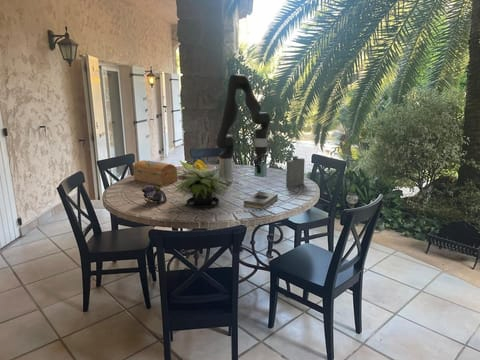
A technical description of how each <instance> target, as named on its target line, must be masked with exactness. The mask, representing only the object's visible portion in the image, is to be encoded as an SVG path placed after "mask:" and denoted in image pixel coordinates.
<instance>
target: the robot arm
mask: <svg viewBox="0 0 480 360" xmlns="http://www.w3.org/2000/svg"><path fill="white" fill-rule="evenodd" d="M228 79H229V80H228V85H227V94H226V100H225V105H224V109H223V113H222V119H221V123H220V127H219V131H218V134H217V138H216V146H217V148H218V149H220V150H222V149H223V150H222V151H221V152H220V153H219V157H218V158H219V160H218V161H219V168H218V169H220V168H224V169H220V170H218V176H219V177H221V178H224V179H222V180H224V182H225V181H226V182H228V183H227V184H230V183H233V182H234V174H233V173H234V170H233V169H234V167H233V165H234V164H233V162H234V160H233V156H234V148H235V147H234V145H235V144H234V143H235V142H234V141H235V140H234V138H233V137H234V136H232V135H231V134H228V132H229V130H230V129H231V127H233V125H234V123H235V122H236V120H237V118H238V113H239V106H238V102H237V100H236V92H237V90H242V91H243V92H244V95H245V99H244V101H245V102H244V103H245V105H246V107H247V109H248V110H249V112H250V115H251V118H252V119H251V120H252V122H253V123H254V124H255V125H260V126H259V127H257V128H256V129H255V131H254V132H255V134H254V136H255V140H254V153H255V154H256V157H254V158H253V160H254V161H253V162H254V168H255V167H257V173H259V174H260V173H261V168H260V167H261V164H262V163H267V161H268V160H267V159H268V154H267V153H268V129H269V125H270V123H271V122H270V121H271V117H270V114H269V113H268V111H267V112H266V111H261V109H262V106H261V104H260V102H259V100H258V99H257V97H256V96H255V93H254V91H253V89H252V87H251V85H250V81H249V79H248V78H247V76H246V75H245V74H240V73H239V74H238V73H233V74H231V75H230V77H229V78H228ZM256 164H257V165H256ZM259 164H260V165H259ZM225 179H226V180H225ZM222 182H223V181H222ZM222 182H221V181H220V182H219V183H222Z"/></svg>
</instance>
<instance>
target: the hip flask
mask: <svg viewBox="0 0 480 360" xmlns="http://www.w3.org/2000/svg"><path fill="white" fill-rule="evenodd" d="M305 162H306V161H305V158H299V156H298V155H292V159H291V160H290V159H289V160H287V161H286V173H285V174H286V176H285V177H286V179H285V181H286V184H285V185H286V186H285V187H286V188H288V189H289V188H292V187H297V186H300V184H301V185H304V183H305ZM296 185H297V186H296Z"/></svg>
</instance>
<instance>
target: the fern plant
mask: <svg viewBox="0 0 480 360" xmlns="http://www.w3.org/2000/svg"><path fill="white" fill-rule="evenodd" d="M183 165H184V164H183ZM183 165H182V166H183ZM184 166H187V165H184ZM185 168H191V170H192V169H193V170H194V171H195V170H196V169H195V168H194V167H191V166H188V167H185ZM219 168H220V167H219ZM219 168H216V169H215V171H214V170H213V171H212V172H209V171H206V172H203V173H204V174H199V173H200V172H199V171H198V170H196V171H195V172H194V171H193V170H192V173H193V172H194V175H195V176H196V177H195V178H190V180H189V177H186V176H189V175H186V174H177V177H185V179H182V180H181V181H178V182H176V183H175V184H174V187H173V188H172V191H174V190H175V191H174V192H173V193H172V195H174V194H175V193H177V192H179V191H180V192H181V191H182V190H183V189H185V191H184V193H185V195H183V196H182V197H183V198H184V197H185V196H186V195H187V194H189V193H190V194H191V197H190V198H188V199H187V200H186V206H187V207H189V208H190V207H191V208H190V209H194V208H196V210H207V209H206V208H208V209H212V207H213V208H216V207H217V206H218V205H219V204H220V200H219V199H220V198H218V196H220V197H223V196H222V195H223V194H224V193H225V192H226V193H228V194H230V192H229V189H230V190H231V188H230V187H229V186H227V184H229V185H230V186H232V184H231V183H228V182H226V181H225V182H224V180H222V179H224V178H221V177H219V175H218V176H217V172H218V171H219V170H220V169H224V168H220V169H219ZM185 170H189V169H185ZM191 170H190V171H191ZM197 171H198V172H197ZM208 172H209V173H208ZM195 173H196V174H197V175H196V174H195ZM198 174H199V175H198ZM190 177H192V176H190ZM186 178H188V179H186ZM225 180H226V179H225ZM220 181H221V182H220ZM222 181H223V182H222ZM223 183H224V184H223ZM225 184H226V185H225ZM187 187H188V188H187ZM221 192H222V193H221ZM217 195H218V196H217Z"/></svg>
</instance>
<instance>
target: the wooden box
mask: <svg viewBox="0 0 480 360" xmlns="http://www.w3.org/2000/svg"><path fill="white" fill-rule="evenodd" d="M177 175H178V171H177V166H175V165H173V164H172V163H165V162H161V161H154V160H152V161H151V160H147V159H146V160H145V159H143V160H139V161H137V162H135V164H134V165H133V179H135V180H134V181H136V180H139V181H138V182H141V181H143V182H142V183H146V182H147V183H146V184H152V185H155V186H160V187H161V186H162V187H163V186H166V185H170V184H174V183H178V176H177Z"/></svg>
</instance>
